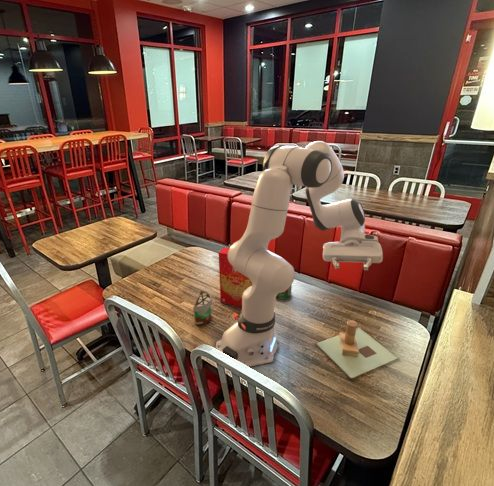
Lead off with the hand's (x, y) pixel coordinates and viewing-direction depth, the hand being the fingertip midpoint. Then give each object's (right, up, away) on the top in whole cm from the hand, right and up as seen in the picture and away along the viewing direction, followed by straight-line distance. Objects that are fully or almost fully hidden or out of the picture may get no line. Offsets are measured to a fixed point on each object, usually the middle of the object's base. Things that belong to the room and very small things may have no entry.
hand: (351, 268), depth 110 cm
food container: (-52, -23, +19) cm, 60 cm away
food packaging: (-38, -18, +27) cm, 50 cm away
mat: (+1, -29, -2) cm, 29 cm away
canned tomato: (-18, -15, +30) cm, 38 cm away
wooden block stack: (-1, -28, 0) cm, 28 cm away
